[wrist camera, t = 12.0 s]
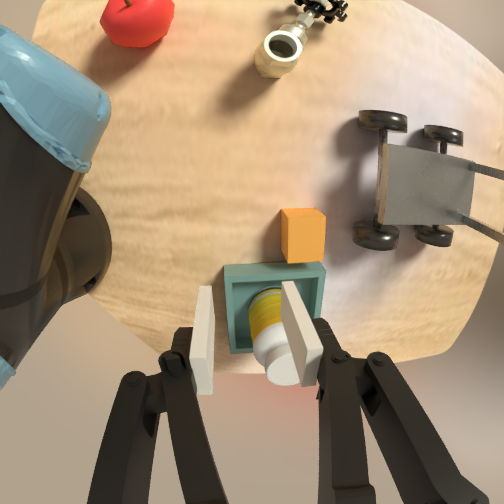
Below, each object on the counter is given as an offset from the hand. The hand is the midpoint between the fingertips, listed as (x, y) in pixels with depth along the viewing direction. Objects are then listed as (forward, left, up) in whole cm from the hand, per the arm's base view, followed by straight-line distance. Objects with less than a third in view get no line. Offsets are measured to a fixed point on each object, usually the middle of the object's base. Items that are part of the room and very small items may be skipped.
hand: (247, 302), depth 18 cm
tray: (+4, -10, -15) cm, 18 cm away
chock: (+7, 0, -15) cm, 16 cm away
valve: (+6, +22, -15) cm, 28 cm away
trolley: (+21, +7, -15) cm, 26 cm away
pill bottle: (+4, -10, -14) cm, 18 cm away
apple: (-10, +26, -15) cm, 31 cm away
